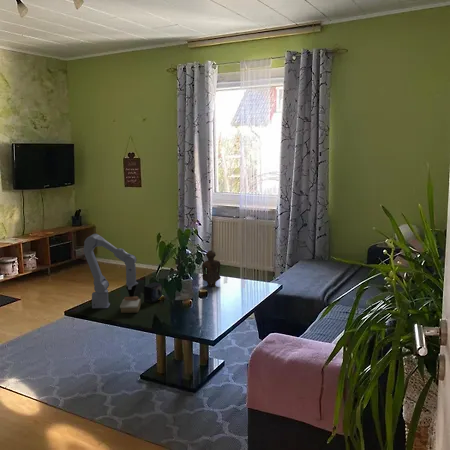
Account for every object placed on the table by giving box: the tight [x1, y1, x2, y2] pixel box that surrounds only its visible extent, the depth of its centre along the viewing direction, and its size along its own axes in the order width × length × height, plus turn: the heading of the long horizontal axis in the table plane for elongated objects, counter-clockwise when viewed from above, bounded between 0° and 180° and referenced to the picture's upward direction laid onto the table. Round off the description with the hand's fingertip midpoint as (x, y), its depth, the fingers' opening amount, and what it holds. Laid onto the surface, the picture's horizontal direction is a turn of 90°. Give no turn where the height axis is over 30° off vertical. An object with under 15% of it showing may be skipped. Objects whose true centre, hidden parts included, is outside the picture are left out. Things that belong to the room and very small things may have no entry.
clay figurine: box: [201, 250, 221, 288], centre depth 331 cm, size 13×10×25 cm
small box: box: [143, 281, 163, 305], centre depth 301 cm, size 11×6×10 cm, turn 148°
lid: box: [119, 296, 141, 309], centre depth 283 cm, size 10×13×3 cm
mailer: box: [120, 298, 142, 314], centre depth 287 cm, size 10×13×4 cm
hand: (131, 297), depth 289 cm, fingers closed
